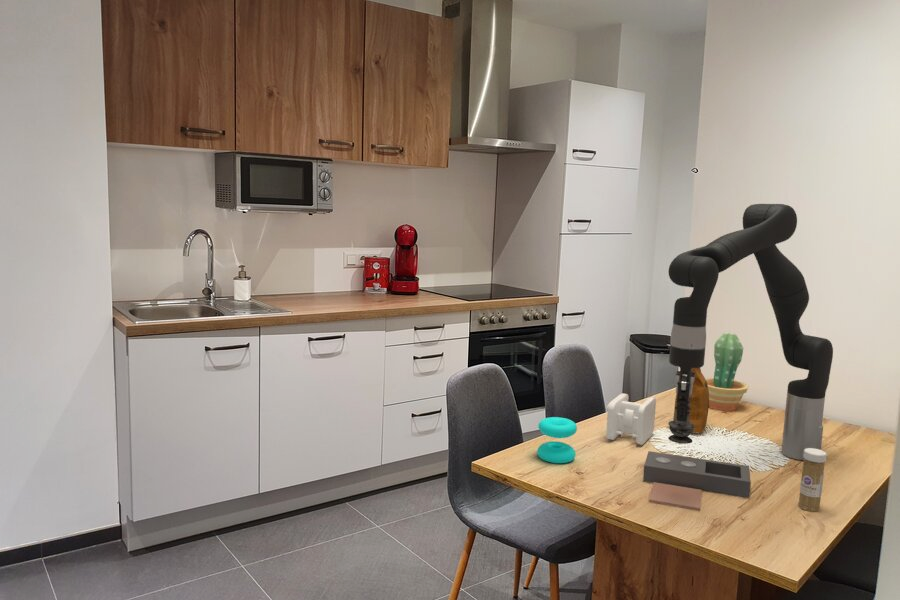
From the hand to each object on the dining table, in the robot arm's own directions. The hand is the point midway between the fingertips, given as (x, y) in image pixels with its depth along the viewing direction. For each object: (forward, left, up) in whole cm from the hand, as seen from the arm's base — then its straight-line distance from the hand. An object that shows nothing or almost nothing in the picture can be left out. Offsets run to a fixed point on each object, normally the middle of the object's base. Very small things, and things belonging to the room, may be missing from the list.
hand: (682, 417), depth 163 cm
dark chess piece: (0, 0, -5) cm, 5 cm away
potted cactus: (-10, -85, -19) cm, 88 cm away
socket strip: (-4, -12, -19) cm, 23 cm away
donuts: (+31, -13, -19) cm, 39 cm away
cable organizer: (+15, -38, -19) cm, 45 cm away
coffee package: (-1, -55, -19) cm, 58 cm away
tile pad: (0, 0, -19) cm, 19 cm away
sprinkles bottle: (-29, -7, -19) cm, 35 cm away
